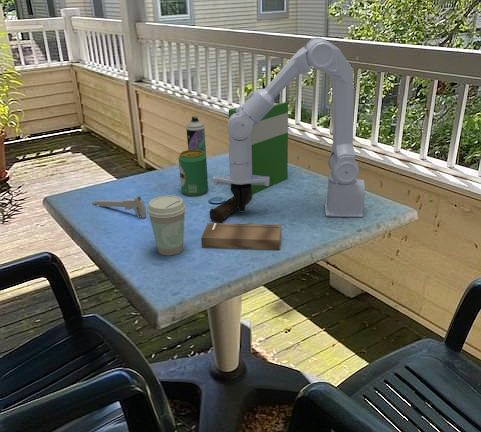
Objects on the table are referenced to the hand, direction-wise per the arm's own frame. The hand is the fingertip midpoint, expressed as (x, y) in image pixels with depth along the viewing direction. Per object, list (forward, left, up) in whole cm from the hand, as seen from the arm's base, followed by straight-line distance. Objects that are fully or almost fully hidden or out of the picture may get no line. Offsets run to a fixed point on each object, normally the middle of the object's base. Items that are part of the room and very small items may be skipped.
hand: (242, 210), depth 128 cm
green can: (+16, -15, -1) cm, 22 cm away
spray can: (+17, -26, -1) cm, 31 cm away
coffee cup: (+14, +21, -1) cm, 25 cm away
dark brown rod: (+3, -3, -2) cm, 4 cm away
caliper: (+34, 0, -2) cm, 35 cm away
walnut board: (-2, +15, -1) cm, 16 cm away
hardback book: (-3, -22, -1) cm, 22 cm away
